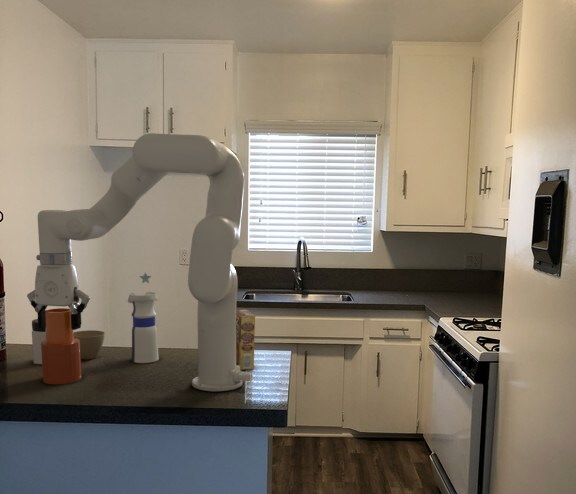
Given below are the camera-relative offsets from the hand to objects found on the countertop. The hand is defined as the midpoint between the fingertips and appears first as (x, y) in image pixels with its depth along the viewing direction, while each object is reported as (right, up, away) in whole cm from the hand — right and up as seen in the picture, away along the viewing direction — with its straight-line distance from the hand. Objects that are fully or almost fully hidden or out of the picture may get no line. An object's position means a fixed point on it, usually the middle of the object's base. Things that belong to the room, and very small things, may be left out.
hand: (59, 327), depth 159 cm
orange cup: (0, -4, +1) cm, 3 cm away
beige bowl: (-1, -10, +25) cm, 27 cm away
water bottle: (+16, -10, +23) cm, 30 cm away
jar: (-10, -11, +20) cm, 25 cm away
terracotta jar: (0, -13, +2) cm, 13 cm away
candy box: (+46, -12, +17) cm, 50 cm away
